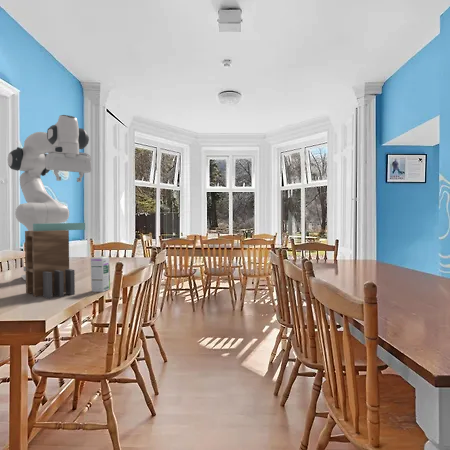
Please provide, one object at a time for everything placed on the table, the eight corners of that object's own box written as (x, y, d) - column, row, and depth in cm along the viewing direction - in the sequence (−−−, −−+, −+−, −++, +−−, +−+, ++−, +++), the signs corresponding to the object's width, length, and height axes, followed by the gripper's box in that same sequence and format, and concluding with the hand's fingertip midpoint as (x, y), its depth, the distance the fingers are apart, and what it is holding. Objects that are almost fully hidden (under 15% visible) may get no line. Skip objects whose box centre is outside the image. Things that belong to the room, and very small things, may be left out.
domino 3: (70, 294, 154) (70, 270, 154) (65, 293, 157) (65, 269, 157) (74, 294, 155) (74, 270, 155) (69, 292, 159) (69, 268, 158)
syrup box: (103, 292, 160) (103, 257, 159) (90, 291, 161) (90, 257, 160) (110, 289, 165) (109, 256, 165) (97, 289, 166) (97, 256, 166)
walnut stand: (26, 293, 158) (24, 230, 157) (59, 288, 168) (58, 229, 168) (35, 296, 151) (33, 231, 150) (69, 291, 161) (68, 230, 161)
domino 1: (48, 298, 148) (47, 272, 147) (43, 296, 151) (42, 271, 151) (52, 297, 149) (51, 272, 148) (47, 296, 152) (46, 271, 152)
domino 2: (59, 296, 151) (59, 271, 151) (54, 294, 154) (54, 270, 154) (63, 296, 152) (63, 271, 152) (58, 294, 155) (58, 270, 155)
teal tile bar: (33, 230, 156) (33, 223, 156) (82, 229, 172) (82, 222, 172) (35, 231, 154) (35, 223, 154) (85, 229, 170) (85, 222, 169)
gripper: (87, 154, 182) (87, 183, 183) (43, 149, 167) (43, 180, 168) (93, 152, 178) (93, 182, 178) (48, 147, 163) (49, 179, 163)
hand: (69, 181), depth 173 cm, fingers open, 8 cm apart
